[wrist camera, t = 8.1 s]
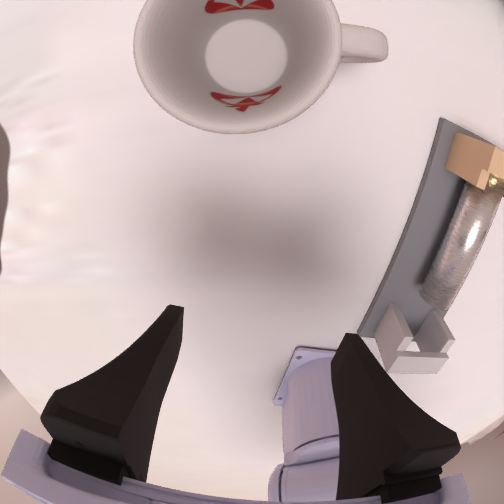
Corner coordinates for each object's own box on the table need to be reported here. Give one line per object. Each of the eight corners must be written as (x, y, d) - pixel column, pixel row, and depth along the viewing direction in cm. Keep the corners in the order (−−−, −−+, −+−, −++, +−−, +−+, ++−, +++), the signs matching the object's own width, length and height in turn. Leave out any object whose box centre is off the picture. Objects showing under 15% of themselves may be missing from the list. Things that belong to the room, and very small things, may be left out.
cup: (352, 2, 14) (400, -40, 7) (359, 117, 17) (414, 136, 10) (178, 9, 14) (128, -30, 7) (188, 124, 18) (141, 146, 11)
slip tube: (440, 289, 23) (456, 312, 20) (412, 283, 22) (426, 308, 20) (491, 168, 17) (517, 182, 14) (463, 154, 17) (489, 166, 14)
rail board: (425, 338, 26) (443, 376, 22) (357, 331, 26) (370, 376, 21) (510, 155, 17) (551, 176, 13) (440, 117, 17) (484, 130, 12)
